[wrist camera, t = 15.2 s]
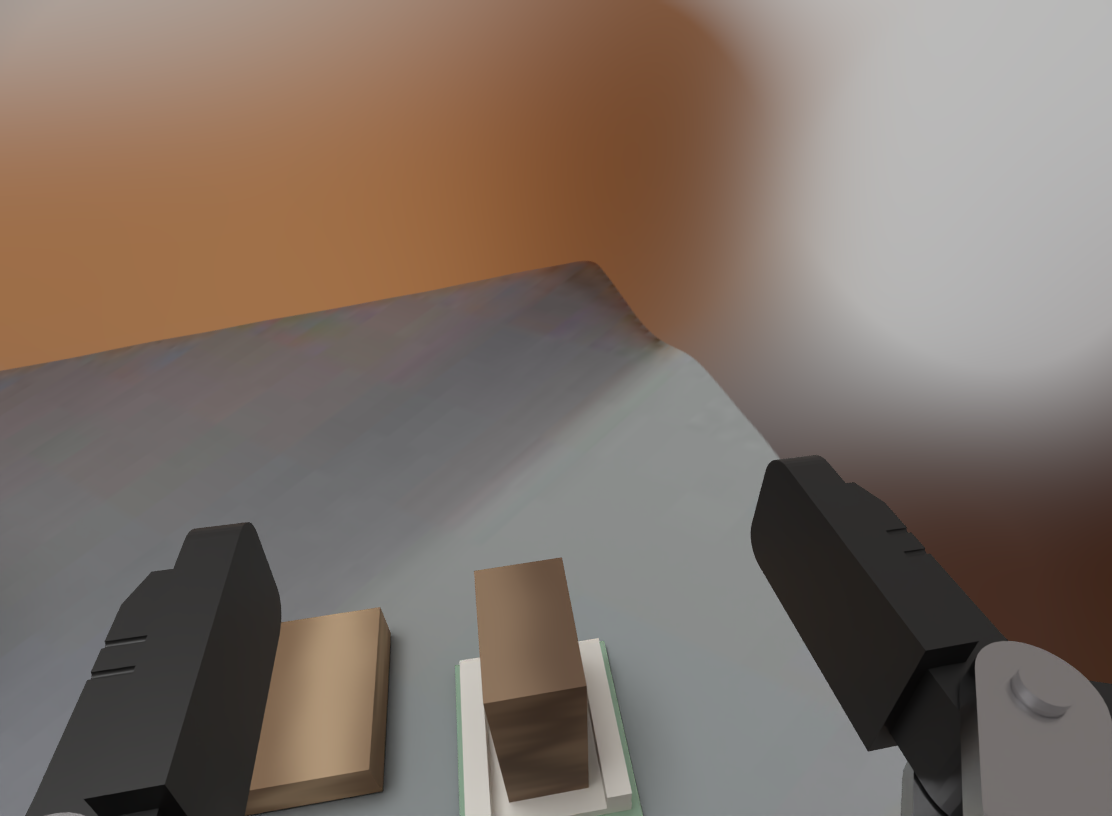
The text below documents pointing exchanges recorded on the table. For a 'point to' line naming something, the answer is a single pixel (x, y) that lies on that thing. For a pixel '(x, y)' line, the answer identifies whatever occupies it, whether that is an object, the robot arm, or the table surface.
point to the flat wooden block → (324, 712)
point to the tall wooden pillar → (532, 678)
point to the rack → (556, 812)
